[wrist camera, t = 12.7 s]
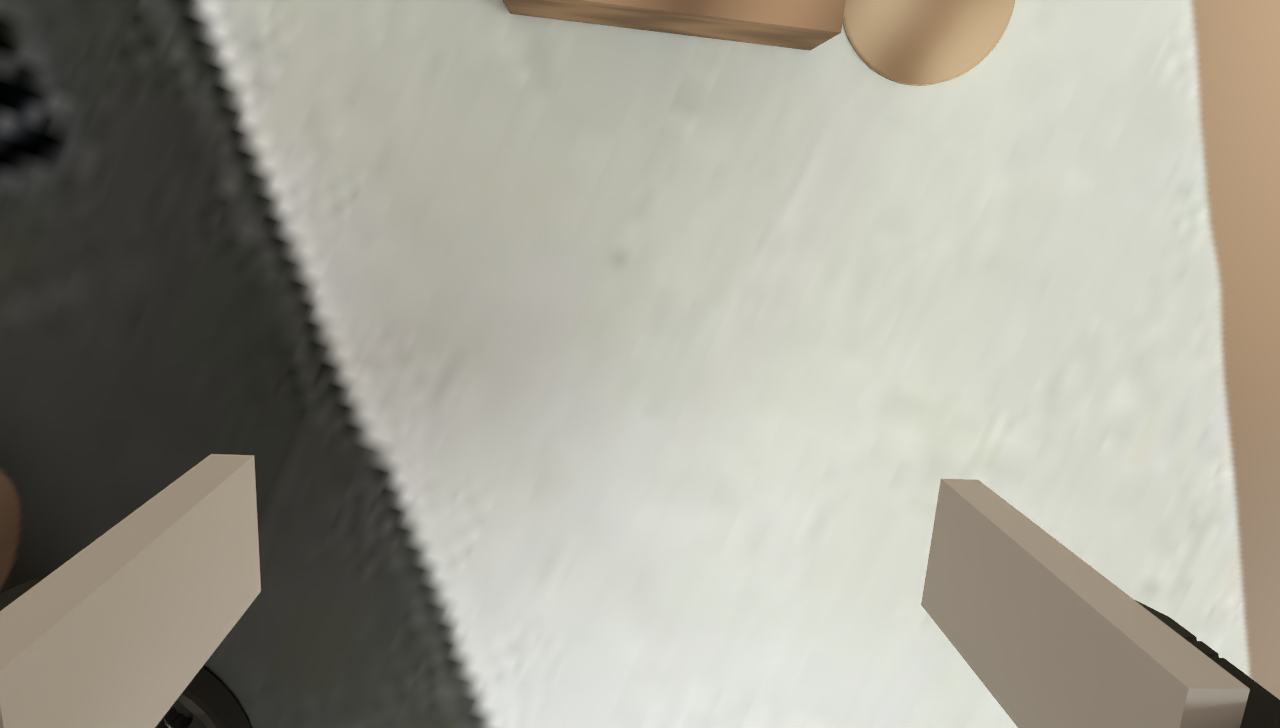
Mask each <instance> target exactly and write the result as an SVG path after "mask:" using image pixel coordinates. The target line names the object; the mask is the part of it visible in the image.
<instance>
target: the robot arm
mask: <svg viewBox="0 0 1280 728" xmlns="http://www.w3.org/2000/svg"><path fill="white" fill-rule="evenodd" d="M260 592H261V582H260V562H259V542H258V522H257V502H256V482H255V462H254V455H224V454H210V455H209V456H208V457H206V458H205V459H204V460H202V461H201V462H200V463H198V464H197V465H196V466H194V467H193V468H192V469H190V470H189V471H188V472H186V473H185V474H184V475H182V476H181V477H180V478H178V479H177V480H176V481H174V482H173V483H172V484H170V485H169V486H167V487H166V488H165V489H163V490H162V491H161V492H159V493H158V494H157V495H155V496H154V497H153V498H151V499H150V500H149V501H147V502H146V503H145V504H143V505H142V506H141V507H139V508H138V509H137V510H135V511H134V512H133V513H131V514H130V515H129V516H127V517H126V518H125V519H123V520H122V521H121V522H119V523H118V524H117V525H115V526H114V527H113V528H111V529H110V530H108V531H107V532H106V533H104V534H103V535H102V536H100V537H99V538H98V539H96V540H95V541H94V542H92V543H91V544H90V545H88V546H87V547H86V548H84V549H83V550H82V551H80V552H79V553H78V554H76V555H75V556H74V557H72V558H71V559H70V560H68V561H67V562H66V563H64V564H63V565H62V566H60V567H59V568H58V569H56V570H55V571H54V572H52V573H51V574H49V575H48V576H47V577H45V578H44V579H32V580H29V581H27V582H25V583H23V584H20V585H18V586H16V587H13V588H11V589H9V590H7V591H4V592H2V593H0V728H250V725H249V723H248V720H247V718H246V716H245V714H244V713H243V711H242V709H241V708H240V706H239V704H238V703H237V701H236V700H235V699H234V697H233V696H232V695H231V693H230V692H229V691H228V690H227V689H226V688H225V687H224V686H223V684H222V683H221V682H220V681H219V680H217V679H216V678H215V677H214V676H213V675H212V674H211V673H209V672H208V671H207V670H206V669H204V668H203V665H204V664H205V663H206V661H207V660H208V659H209V658H210V656H211V655H212V654H213V652H214V651H215V650H216V649H217V647H218V646H219V645H220V643H221V642H222V641H223V640H224V638H225V637H226V636H227V634H228V633H229V632H230V631H231V629H232V628H233V627H234V625H235V624H236V623H237V621H238V620H239V619H240V618H241V616H242V615H243V614H244V612H245V611H246V610H247V609H248V607H249V606H250V605H251V603H252V602H253V601H254V600H255V598H256V597H257V596H258V594H259V593H260ZM921 605H922V606H923V608H924V609H925V610H926V611H927V613H928V614H929V615H930V616H931V618H932V619H933V620H934V621H935V623H936V624H937V625H938V627H939V628H940V629H941V630H942V632H943V633H944V634H945V635H946V637H947V638H948V639H949V641H950V642H951V643H952V644H953V646H954V647H955V648H956V649H957V651H958V652H959V653H960V654H961V656H962V657H963V658H964V660H965V661H966V662H967V663H968V665H969V666H970V667H971V668H972V670H973V671H974V672H975V673H976V675H977V676H978V677H979V679H980V680H981V681H982V682H983V684H984V685H985V686H986V687H987V689H988V690H989V691H990V693H991V694H992V695H993V696H994V698H995V699H996V700H997V701H998V703H999V704H1000V705H1001V706H1002V708H1003V709H1004V710H1005V712H1006V713H1007V714H1008V715H1009V717H1010V718H1011V719H1012V720H1013V722H1014V723H1015V724H1016V725H1017V727H1018V728H1280V700H1279V699H1278V698H1276V697H1275V696H1274V695H1272V694H1271V693H1270V692H1268V691H1267V690H1266V689H1264V688H1263V687H1262V686H1260V685H1259V684H1258V683H1256V682H1255V681H1254V680H1252V679H1251V678H1250V677H1248V676H1247V675H1246V674H1244V673H1243V672H1242V671H1240V670H1239V669H1238V668H1236V667H1235V666H1234V665H1232V664H1231V663H1230V662H1228V661H1227V660H1226V659H1224V658H1219V656H1218V653H1216V652H1215V651H1214V650H1212V649H1211V648H1210V647H1208V646H1207V645H1206V644H1204V643H1203V642H1202V641H1197V639H1196V637H1195V636H1194V635H1193V634H1191V633H1190V632H1189V631H1187V630H1186V629H1185V628H1183V627H1182V626H1181V625H1179V624H1178V623H1177V622H1175V621H1174V620H1173V619H1171V618H1170V617H1168V616H1166V615H1164V614H1162V613H1160V612H1158V611H1156V610H1154V609H1152V608H1150V607H1148V606H1146V605H1144V604H1142V603H1140V602H1138V601H1136V600H1134V599H1132V598H1131V597H1130V596H1128V595H1127V594H1126V593H1124V592H1123V591H1122V590H1121V589H1119V588H1118V587H1117V586H1115V585H1114V584H1113V583H1111V582H1110V581H1109V580H1108V579H1106V578H1105V577H1104V576H1102V575H1101V574H1100V573H1098V572H1097V571H1096V570H1095V569H1093V568H1092V567H1091V566H1089V565H1088V564H1087V563H1085V562H1084V561H1083V560H1082V559H1080V558H1079V557H1078V556H1076V555H1075V554H1074V553H1072V552H1071V551H1070V550H1069V549H1067V548H1066V547H1065V546H1063V545H1062V544H1061V543H1059V542H1058V541H1057V540H1056V539H1054V538H1053V537H1052V536H1050V535H1049V534H1048V533H1046V532H1045V531H1044V530H1043V529H1041V528H1040V527H1039V526H1037V525H1036V524H1035V523H1033V522H1032V521H1031V520H1030V519H1028V518H1027V517H1026V516H1024V515H1023V514H1022V513H1020V512H1019V511H1018V510H1017V509H1015V508H1014V507H1013V506H1011V505H1010V504H1009V503H1007V502H1006V501H1005V500H1004V499H1002V498H1001V497H1000V496H998V495H997V494H996V493H994V492H993V491H992V490H991V489H989V488H988V487H987V486H985V485H984V484H983V483H981V482H980V481H979V480H963V479H941V482H940V489H939V495H938V501H937V508H936V514H935V521H934V527H933V533H932V540H931V546H930V553H929V559H928V565H927V572H926V578H925V585H924V591H923V597H922V604H921Z"/></svg>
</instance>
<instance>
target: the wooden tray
mask: <svg viewBox="0 0 1280 728" xmlns="http://www.w3.org/2000/svg"><path fill="white" fill-rule="evenodd" d="M503 2H504V3H505V5H506V7H507V8H508V10H509V12H510V13H511V14H519V15H527V16H535V17H544V18H552V19H560V20H568V21H576V22H584V23H592V24H601V25H609V26H617V27H625V28H633V29H641V30H650V31H658V32H666V33H674V34H682V35H690V36H698V37H707V38H715V39H723V40H731V41H739V42H747V43H756V44H764V45H772V46H780V47H788V48H796V49H804V50H811V49H813V48H815V47H817V46H818V45H820V44H822V43H824V42H825V41H827V40H829V39H831V38H832V37H834V36H836V35H838V34H839V33H841V28H842V21H843V15H844V9H845V2H846V0H503Z"/></svg>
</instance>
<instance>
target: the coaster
mask: <svg viewBox="0 0 1280 728" xmlns="http://www.w3.org/2000/svg"><path fill="white" fill-rule="evenodd" d="M1014 4H1015V0H846V2H845V9H844V15H843V24H844V27H845V31H846V34H847V36H848V38H849V41H850V43H851V44H852V46H853V48H854V50H855V51H856V53H857V54H858V55H859V56H860V58H861V59H862V60H863V61H864V62H865V63H866V64H867V65H868V66H869V67H870V68H871V69H872V70H874V71H875V72H877V73H878V74H879V75H881V76H883V77H885V78H887V79H889V80H892V81H895V82H898V83H902V84H907V85H920V86H921V85H931V84H936V83H940V82H944V81H948V80H950V79H953V78H956V77H958V76H960V75H962V74H964V73H966V72H968V71H969V70H971V69H972V68H973V67H975V66H976V65H978V64H979V63H980V62H981V61H982V60H983V59H984V58H985V57H987V55H988V54H989V53H990V52H991V51H992V50H993V49H994V47H995V46H996V44H997V43H998V42H999V40H1000V39H1001V37H1002V35H1003V33H1004V31H1005V30H1006V28H1007V25H1008V23H1009V20H1010V18H1011V15H1012V12H1013V8H1014Z"/></svg>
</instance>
